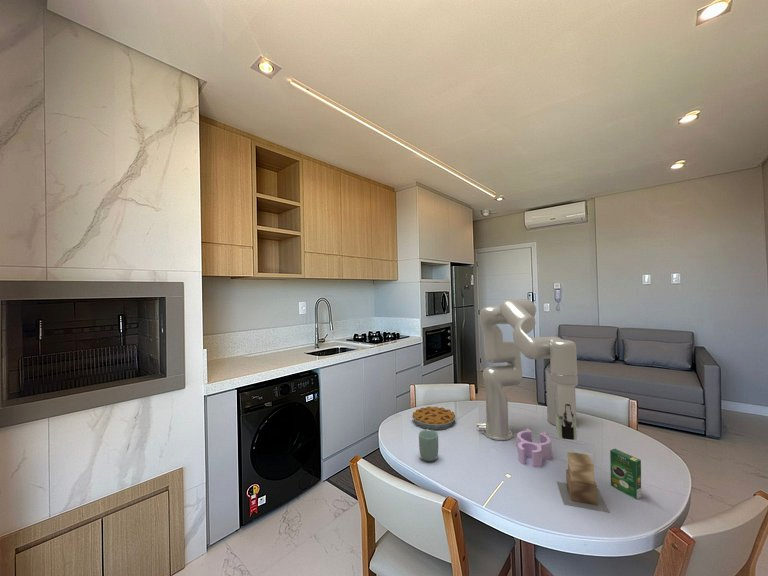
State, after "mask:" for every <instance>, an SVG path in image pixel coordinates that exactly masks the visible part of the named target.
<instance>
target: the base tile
mask: <svg viewBox="0 0 768 576" xmlns="http://www.w3.org/2000/svg"><path fill="white" fill-rule="evenodd" d="M556 485H557V487H558V491H559V494H560V497H561V500H562V503H563V505H564V506H568V507H569V506H570V507H576V508H581V509H586V510H593V511H597V512H601V513H602V512H603V513H609V514H611V511H610V509H609V507H608V506H607V504H606V501H605V500H604V497H603V496H602V494H601V492H600V490H599V487H597V500H598V506H597V505H592V504H586V503H580V502H575V501H571V499H570V496H569V493H568V490H567V484H566V482H560V481H556Z"/></svg>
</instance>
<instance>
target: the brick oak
mask: <svg viewBox="0 0 768 576" xmlns="http://www.w3.org/2000/svg"><path fill="white" fill-rule="evenodd" d="M566 455H567V469H568V472H569V474H570V477H571V479H572V481H577V482H583V483H589V484H595V483H596V481H595V464H594V462H593V460H592V459H591V457H590V455H589V454H586V453H577V452H569V451H567V453H566ZM594 481H595V482H594Z"/></svg>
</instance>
